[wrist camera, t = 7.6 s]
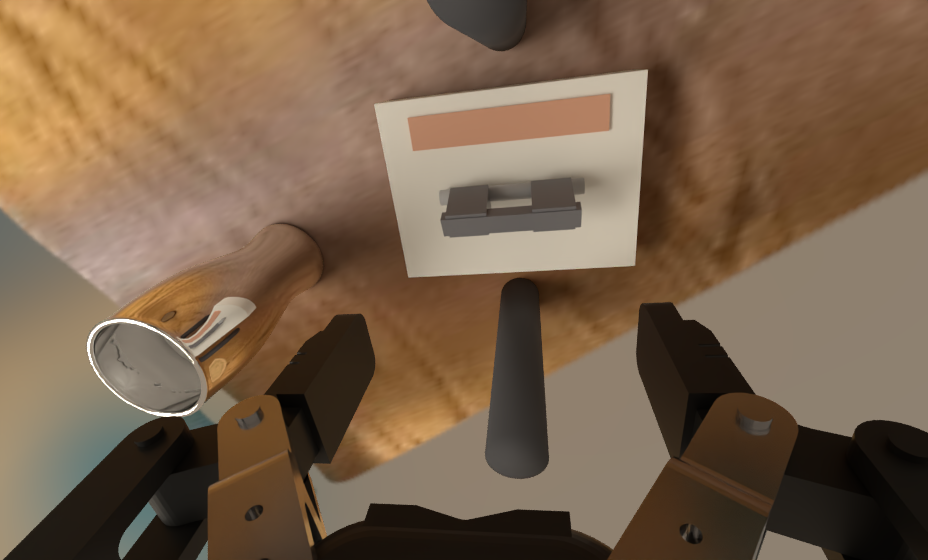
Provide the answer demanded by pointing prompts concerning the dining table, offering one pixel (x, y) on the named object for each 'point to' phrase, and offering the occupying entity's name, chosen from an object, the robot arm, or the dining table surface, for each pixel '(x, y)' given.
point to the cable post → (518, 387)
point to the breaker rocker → (546, 213)
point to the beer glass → (202, 323)
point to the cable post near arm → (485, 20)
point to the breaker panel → (519, 169)
